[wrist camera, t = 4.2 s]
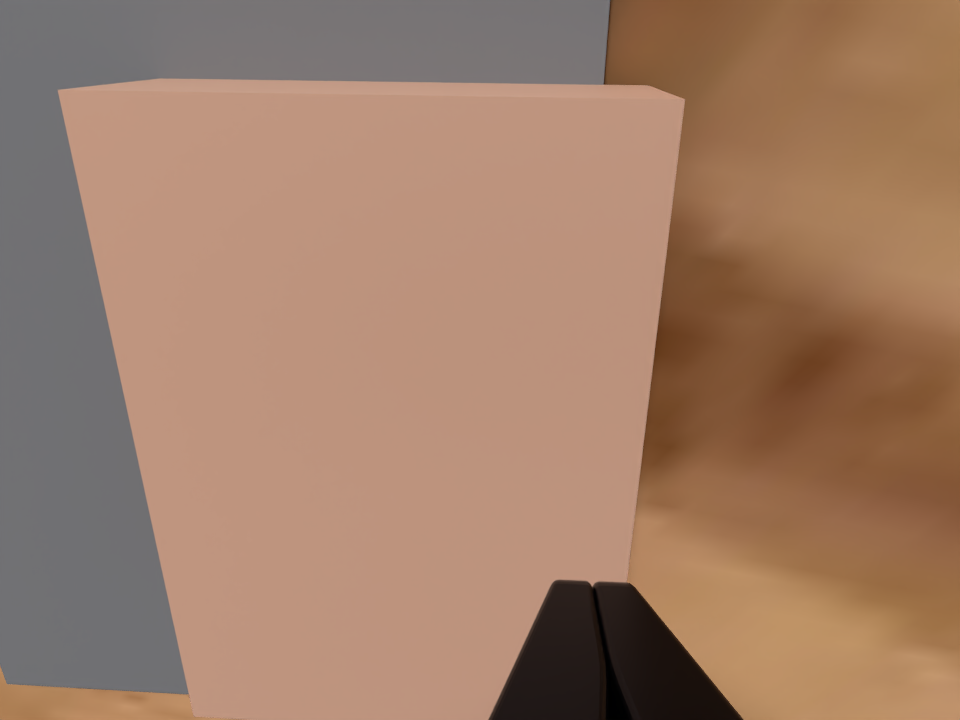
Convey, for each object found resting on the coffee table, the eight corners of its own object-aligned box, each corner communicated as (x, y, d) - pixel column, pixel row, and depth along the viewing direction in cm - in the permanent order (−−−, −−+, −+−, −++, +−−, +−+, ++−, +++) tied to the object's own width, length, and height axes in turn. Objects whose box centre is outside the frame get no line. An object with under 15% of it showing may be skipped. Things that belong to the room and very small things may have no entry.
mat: (616, -122, 9) (620, -127, 9) (554, 703, 15) (554, 714, 15) (-260, -125, 10) (-284, -130, 10) (16, 672, 16) (6, 683, 16)
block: (684, 98, 8) (57, 89, 8) (607, 740, 12) (193, 716, 12) (648, 85, 10) (160, 78, 10) (594, 627, 14) (245, 609, 14)
